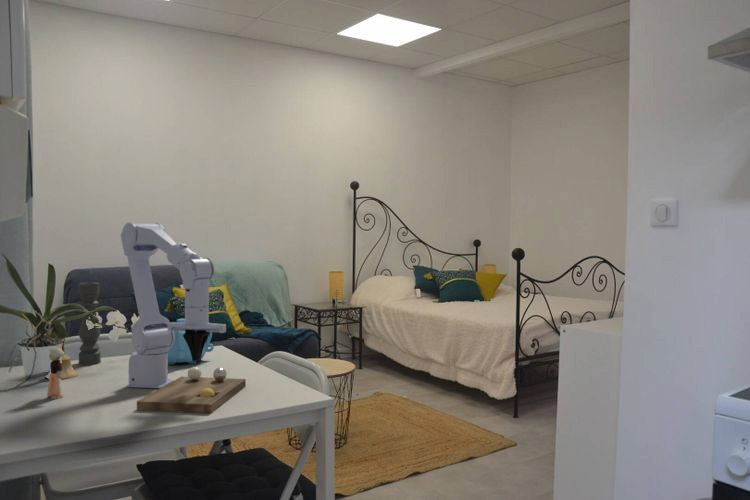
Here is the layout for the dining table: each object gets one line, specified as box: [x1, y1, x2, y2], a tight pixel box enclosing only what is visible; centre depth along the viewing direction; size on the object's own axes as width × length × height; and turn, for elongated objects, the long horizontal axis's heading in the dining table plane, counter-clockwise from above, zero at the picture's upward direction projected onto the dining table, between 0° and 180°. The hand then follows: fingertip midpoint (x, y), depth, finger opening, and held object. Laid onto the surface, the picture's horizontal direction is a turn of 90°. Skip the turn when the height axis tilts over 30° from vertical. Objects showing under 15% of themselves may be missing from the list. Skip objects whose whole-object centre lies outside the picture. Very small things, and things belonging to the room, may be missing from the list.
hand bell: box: [61, 327, 79, 381], centre depth 170 cm, size 8×8×16 cm
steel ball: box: [212, 367, 228, 381], centre depth 158 cm, size 4×4×4 cm
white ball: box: [187, 366, 202, 380], centre depth 159 cm, size 4×4×4 cm
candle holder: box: [78, 282, 102, 366], centre depth 187 cm, size 6×6×25 cm
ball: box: [200, 388, 215, 397], centre depth 145 cm, size 4×4×4 cm
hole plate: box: [136, 376, 247, 414], centre depth 150 cm, size 18×24×2 cm
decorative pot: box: [167, 318, 215, 366], centre depth 191 cm, size 16×16×14 cm
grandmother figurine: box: [46, 346, 64, 400], centre depth 149 cm, size 8×4×13 cm, turn 49°
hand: (196, 360), depth 150 cm, fingers closed
